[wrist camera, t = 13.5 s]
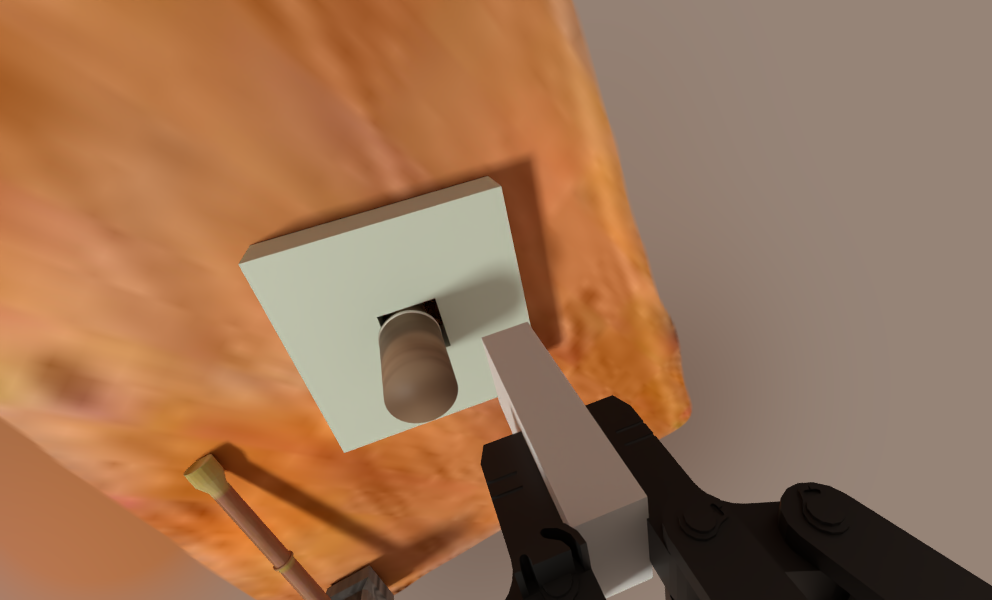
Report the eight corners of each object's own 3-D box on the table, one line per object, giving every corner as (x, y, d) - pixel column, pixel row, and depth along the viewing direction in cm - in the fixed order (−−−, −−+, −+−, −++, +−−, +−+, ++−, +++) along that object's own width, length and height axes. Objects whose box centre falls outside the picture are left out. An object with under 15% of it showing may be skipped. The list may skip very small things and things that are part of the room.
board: (249, 245, 35) (238, 264, 32) (488, 175, 38) (501, 186, 35) (345, 423, 45) (344, 452, 42) (528, 358, 48) (542, 380, 45)
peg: (367, 300, 40) (371, 378, 30) (424, 281, 41) (447, 352, 30) (387, 346, 43) (397, 433, 32) (440, 328, 43) (467, 408, 33)
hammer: (176, 520, 33) (386, 738, 42) (251, 412, 48) (394, 591, 57) (104, 559, 33) (331, 770, 42) (201, 439, 48) (353, 614, 57)
